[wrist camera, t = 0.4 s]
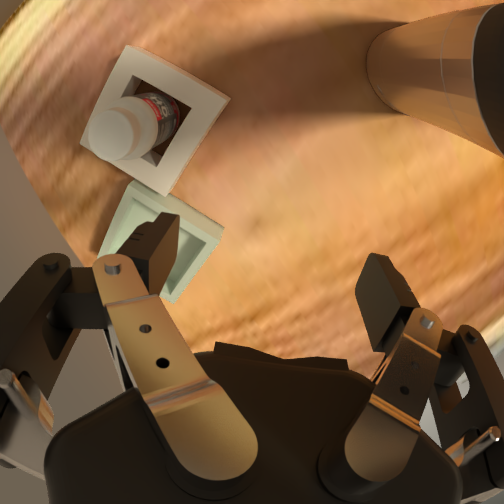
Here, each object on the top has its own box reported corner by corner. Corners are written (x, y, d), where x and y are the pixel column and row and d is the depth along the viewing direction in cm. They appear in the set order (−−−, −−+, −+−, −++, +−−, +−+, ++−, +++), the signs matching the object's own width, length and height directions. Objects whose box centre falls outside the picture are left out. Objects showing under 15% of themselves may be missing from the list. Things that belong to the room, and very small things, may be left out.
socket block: (139, 46, 23) (126, 45, 20) (231, 98, 26) (226, 100, 23) (93, 136, 28) (79, 143, 26) (174, 186, 31) (165, 197, 29)
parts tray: (139, 174, 31) (128, 184, 28) (224, 227, 33) (220, 241, 31) (107, 245, 36) (97, 258, 33) (179, 288, 39) (173, 304, 36)
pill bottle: (189, 101, 26) (152, 114, 18) (170, 149, 29) (130, 181, 21) (141, 84, 25) (89, 92, 17) (125, 131, 28) (73, 158, 20)
